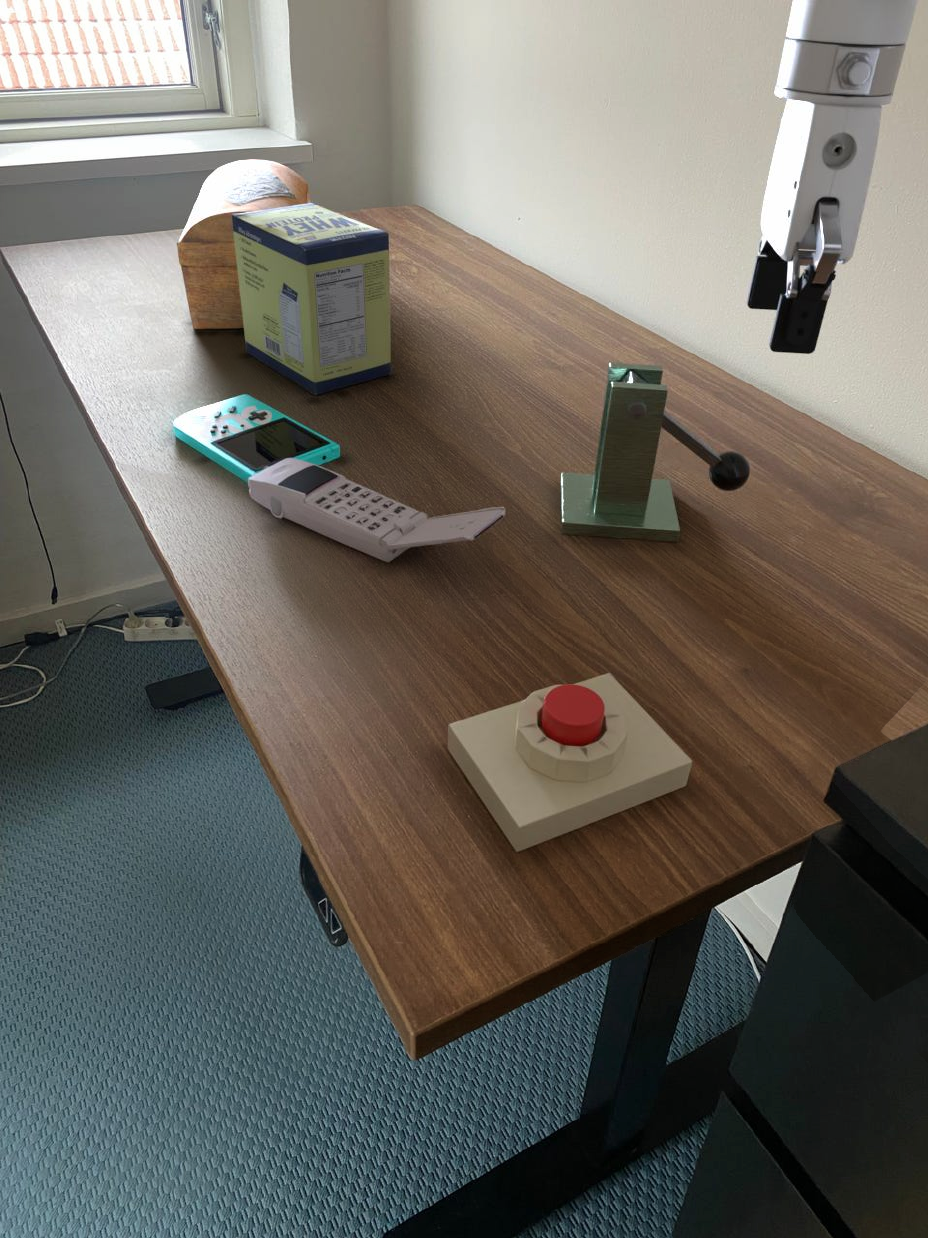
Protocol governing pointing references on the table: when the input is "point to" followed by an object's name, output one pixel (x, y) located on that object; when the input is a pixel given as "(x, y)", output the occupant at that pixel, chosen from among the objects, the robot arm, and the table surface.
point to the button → (572, 715)
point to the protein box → (314, 295)
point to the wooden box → (228, 235)
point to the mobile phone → (358, 511)
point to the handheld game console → (251, 436)
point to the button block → (565, 765)
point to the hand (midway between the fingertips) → (777, 328)
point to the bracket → (624, 466)
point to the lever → (706, 451)
